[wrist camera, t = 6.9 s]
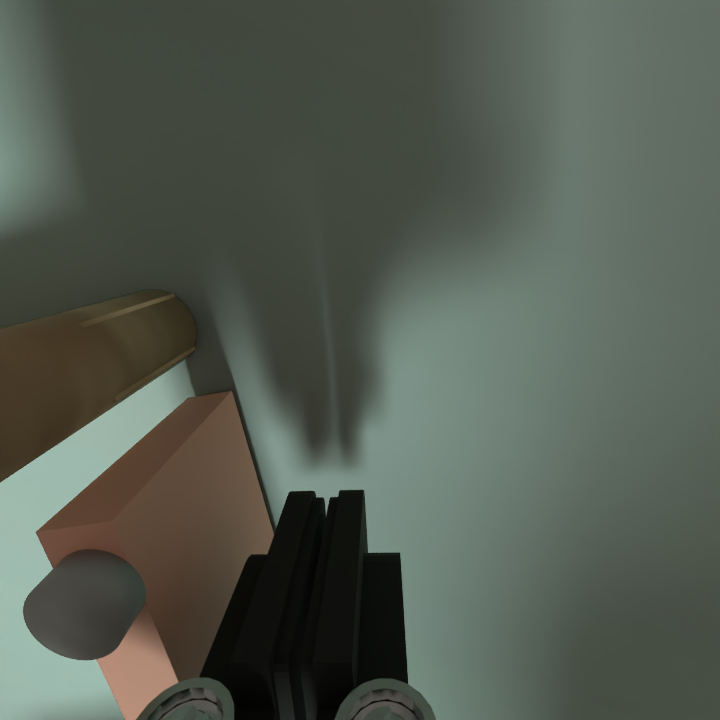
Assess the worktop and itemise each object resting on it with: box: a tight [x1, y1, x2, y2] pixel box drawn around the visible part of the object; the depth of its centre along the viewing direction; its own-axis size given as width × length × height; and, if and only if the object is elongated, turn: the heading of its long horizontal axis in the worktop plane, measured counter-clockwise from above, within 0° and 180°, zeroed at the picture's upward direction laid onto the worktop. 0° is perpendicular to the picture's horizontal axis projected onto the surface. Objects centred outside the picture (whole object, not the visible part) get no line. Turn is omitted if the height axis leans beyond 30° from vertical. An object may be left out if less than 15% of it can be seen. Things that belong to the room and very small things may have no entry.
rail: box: [23, 391, 274, 720], centre depth 10 cm, size 12×2×6 cm, turn 11°
